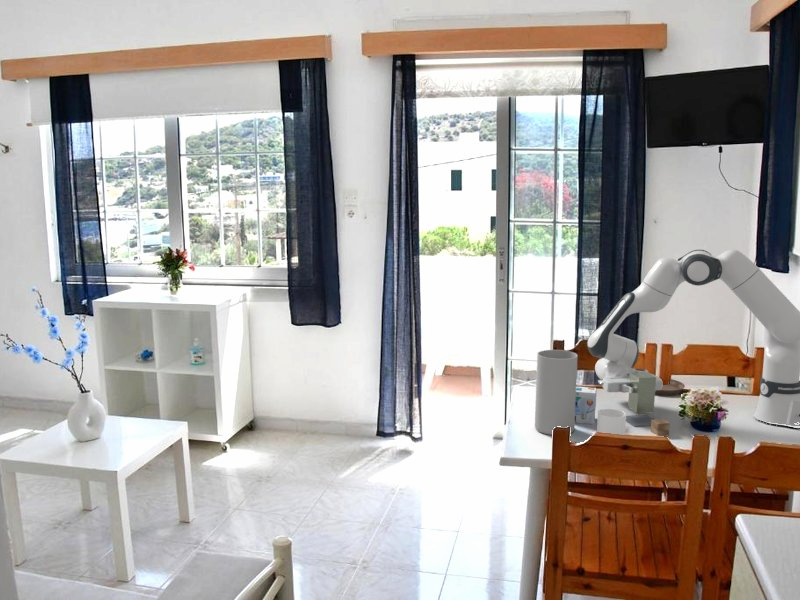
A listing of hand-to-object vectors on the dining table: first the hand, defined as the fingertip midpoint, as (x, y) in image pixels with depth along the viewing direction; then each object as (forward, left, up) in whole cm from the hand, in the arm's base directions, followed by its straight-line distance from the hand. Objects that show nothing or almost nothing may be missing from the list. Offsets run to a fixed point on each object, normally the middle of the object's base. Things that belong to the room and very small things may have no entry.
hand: (643, 390), depth 245 cm
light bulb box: (+20, -6, -11) cm, 23 cm away
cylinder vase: (+32, +2, -11) cm, 34 cm away
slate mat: (0, -1, -11) cm, 11 cm away
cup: (+20, +16, -11) cm, 28 cm away
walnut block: (0, +11, -11) cm, 16 cm away
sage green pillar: (0, -1, -7) cm, 7 cm away
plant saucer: (-26, -34, -11) cm, 44 cm away
